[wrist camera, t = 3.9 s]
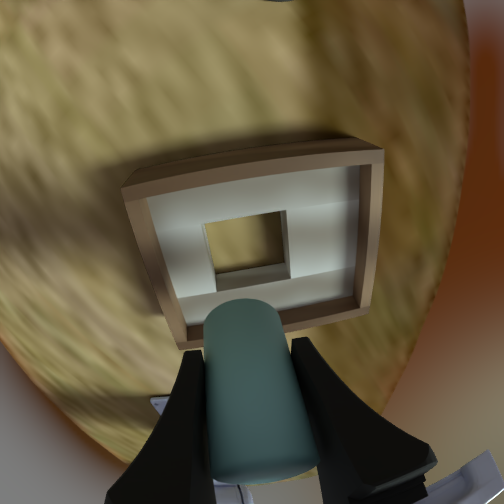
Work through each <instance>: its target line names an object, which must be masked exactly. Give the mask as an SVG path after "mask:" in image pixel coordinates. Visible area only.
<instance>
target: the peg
mask: <svg viewBox="0 0 504 504" xmlns="http://www.w3.org/2000/svg"><path fill="white" fill-rule="evenodd" d="M203 336H204V368H205V398H206V418H207V435H208V450H209V463H210V475H211V478H212V479H214V480H216V481H218V482H222V483H227V484H239V485H249V484H262V483H269V482H275V481H280V480H284V479H288V478H291V477H294V476H297V475H300V474H302V473H305V472H307V471H309V470H311V469H312V468H314V467H315V466H317V465H318V464H319V462H320V457H319V454H318V450H317V447H316V443H315V439H314V436H313V432H312V429H311V425H310V422H309V418H308V414H307V411H306V407H305V404H304V400H303V397H302V393H301V390H300V386H299V383H298V379H297V376H296V372H295V369H294V365H293V362H292V358H291V355H290V351H289V348H288V344H287V341H286V337H285V334H284V330H283V327H282V323H281V320H280V316H279V314H278V312H277V311H276V310H275V309H274V308H273V307H272V306H271V305H269V304H268V303H266V302H263V301H261V300H257V299H250V298H243V299H235V300H231V301H227V302H225V303H222V304H221V305H219V306H217V307H216V308H214V309H213V310H212V311H211V312H210V313H209V314H208V316H207V317H206V319H205V321H204V325H203Z"/></svg>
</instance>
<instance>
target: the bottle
mask: <svg viewBox="0 0 504 504" xmlns="http://www.w3.org/2000/svg"><path fill="white" fill-rule="evenodd" d="M269 1H276V2H284V1H292V0H269Z"/></svg>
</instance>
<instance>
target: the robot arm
mask: <svg viewBox="0 0 504 504" xmlns="http://www.w3.org/2000/svg"><path fill="white" fill-rule="evenodd" d="M291 358H292V362H293V365H294V369H295V372H296V376H297V379H298V383H299V386H300V390H301V393H302V397H303V400H304V404H305V407H306V411H307V414H308V418H309V422H310V425H311V429H312V432H313V436H314V439H315V443H316V447H317V450H318V454H319V457H320V462H319V464H318V465H317V470H318V475H319V481H320V486H321V492H322V498H323V504H487V503H488V502H489V501H490V500H492V499H493V498H494V497H495V496H497V495H498V494H499V493H500V492H502V491H503V490H504V481H503V478H502V476H501V474H500V472H499V470H498V467H497V465H496V463H495V461H494V459H493V457H492V455H491V453H490V451H489V450H486V451H485V452H483V453H482V454H480V455H479V456H477V457H476V458H474V459H473V460H471V461H470V462H468V463H467V464H465V465H464V466H462V467H461V468H460V469H459V470H457V471H455V472H454V473H452V474H450V475H449V476H447V477H445V478H443V479H441V480H440V481H438V482H436V483H434V484H432V485H430V486H428V487H426V488H425V485H424V483H423V482H425V481H426V479H425V476H424V474H425V473H426V472H427V471H429V470H430V469H432V468H433V467H434V466H435V465H436V464H437V462H438V461H437V459H436V456H435V454H434V452H433V451H432V449H431V447H430V446H429V444H427V443H425V442H423V441H421V440H419V439H417V438H415V437H413V436H411V435H409V434H408V433H406V432H404V431H403V430H401V429H399V428H398V427H396V426H395V425H393V424H392V423H390V422H389V421H387V420H386V419H385V418H383V417H382V416H380V415H379V414H378V413H376V412H375V411H374V410H373V409H371V408H370V407H369V406H368V405H367V404H365V403H364V402H363V401H362V400H361V399H360V398H359V397H358V396H357V395H356V394H354V393H353V392H352V391H351V390H350V389H349V387H348V386H347V385H346V384H345V383H344V382H343V381H342V380H341V379H340V378H339V377H338V376H337V374H336V373H335V372H334V371H333V370H332V369H331V367H330V366H329V365H328V364H327V363H326V361H325V360H324V359H323V357H322V356H321V355H320V353H319V352H318V351H317V349H316V348H315V347H314V345H313V344H312V342H311V341H310V339H309V338H308V337H301V338H295V339H292V345H291ZM150 402H151V404H152V405H153V406H154V407H155V409H156V410H157V411H158V413H159V414H160V415H161V416H160V418H159V420H158V422H157V424H156V426H155V428H154V430H153V431H152V433H151V435H150V437H149V438H148V440H147V441H146V443H145V445H144V446H143V448H142V449H141V451H140V452H139V454H138V455H137V456H136V458H135V459H134V460H133V462H132V463H131V464H130V466H129V467H128V468H127V470H126V471H125V472H124V473H123V474H122V476H121V477H120V478H119V479H118V480H117V481H116V482H115V483H114V484H113V486H112V487H111V488H110V489H109V490H108V491H107V494H106V499H105V503H104V504H253V499H252V495H251V492H250V490H249V489H248V487H247V486H245V485H239V484H227V483H222V482H218V481H216V480H214V479H212V478H211V475H210V463H209V450H208V435H207V418H206V398H205V368H204V360H203V356H202V352H201V350H192V351H185V352H184V355H183V359H182V363H181V366H180V369H179V372H178V375H177V378H176V381H175V384H174V386H173V389H172V391H171V394H170V396H167V397H153V398H151V399H150Z"/></svg>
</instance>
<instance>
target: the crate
mask: <svg viewBox="0 0 504 504" xmlns="http://www.w3.org/2000/svg"><path fill="white" fill-rule="evenodd" d="M383 174H384V149H382V148H380V147H378V146H375V145H373V144H371V143H368V142H366V141H364V140H361V139H359V138H340V139H326V140H314V141H303V142H294V143H284V144H276V145H268V146H260V147H253V148H246V149H240V150H233V151H227V152H221V153H215V154H209V155H204V156H199V157H193V158H188V159H183V160H178V161H173V162H169V163H164V164H160V165H155V166H151V167H147V168H142V169H138V170H135V171H134V173H133V174H132V175H131V176H130V177H129V178H128V180H127V181H126V182H125V183H124V184H123V186H122V187H121V188H120V190H121V193H122V197H123V200H124V203H125V207H126V210H127V213H128V217H129V220H130V223H131V226H132V229H133V232H134V235H135V238H136V241H137V244H138V247H139V250H140V253H141V256H142V259H143V262H144V264H145V267H146V270H147V273H148V275H149V278H150V281H151V283H152V286H153V289H154V291H155V294H156V296H157V299H158V301H159V304H160V306H161V309H162V311H163V314H164V316H165V319H166V321H167V323H168V326H169V328H170V330H171V333H172V335H173V337H174V340H175V342H176V344H177V346H178V349H179V350H184V349H192V348H199V347H204V336H203V325H204V321H205V319H206V317H207V316H208V314H209V313H210V312H211V311H212V310H213V309H214V308H216V307H217V306H219V305H221V304H222V303H225V302H227V301H231V300H235V299H243V298H250V299H257V300H261V301H263V302H266V303H268V304H269V305H271V306H272V307H273V308H274V309H275V310H276V311H277V312H278V314H279V316H280V320H281V323H282V327H283V330H284V333H287V332H292V331H297V330H302V329H307V328H311V327H316V326H320V325H324V324H329V323H333V322H337V321H341V320H345V319H349V318H353V317H357V316H361V315H365V314H369V308H370V302H371V296H372V290H373V283H374V276H375V269H376V261H377V253H378V244H379V234H380V223H381V211H382V195H383ZM276 211H280V214H281V226H282V238H283V251H284V263H279V264H274V265H268V266H263V267H257V268H251V269H246V270H240V271H234V272H228V273H222V274H217V275H216V274H215V270H214V265H213V261H212V257H211V252H210V248H209V243H208V239H207V234H206V230H205V225H204V224H205V223H210V222H216V221H222V220H227V219H233V218H239V217H245V216H251V215H257V214H263V213H269V212H276Z"/></svg>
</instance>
